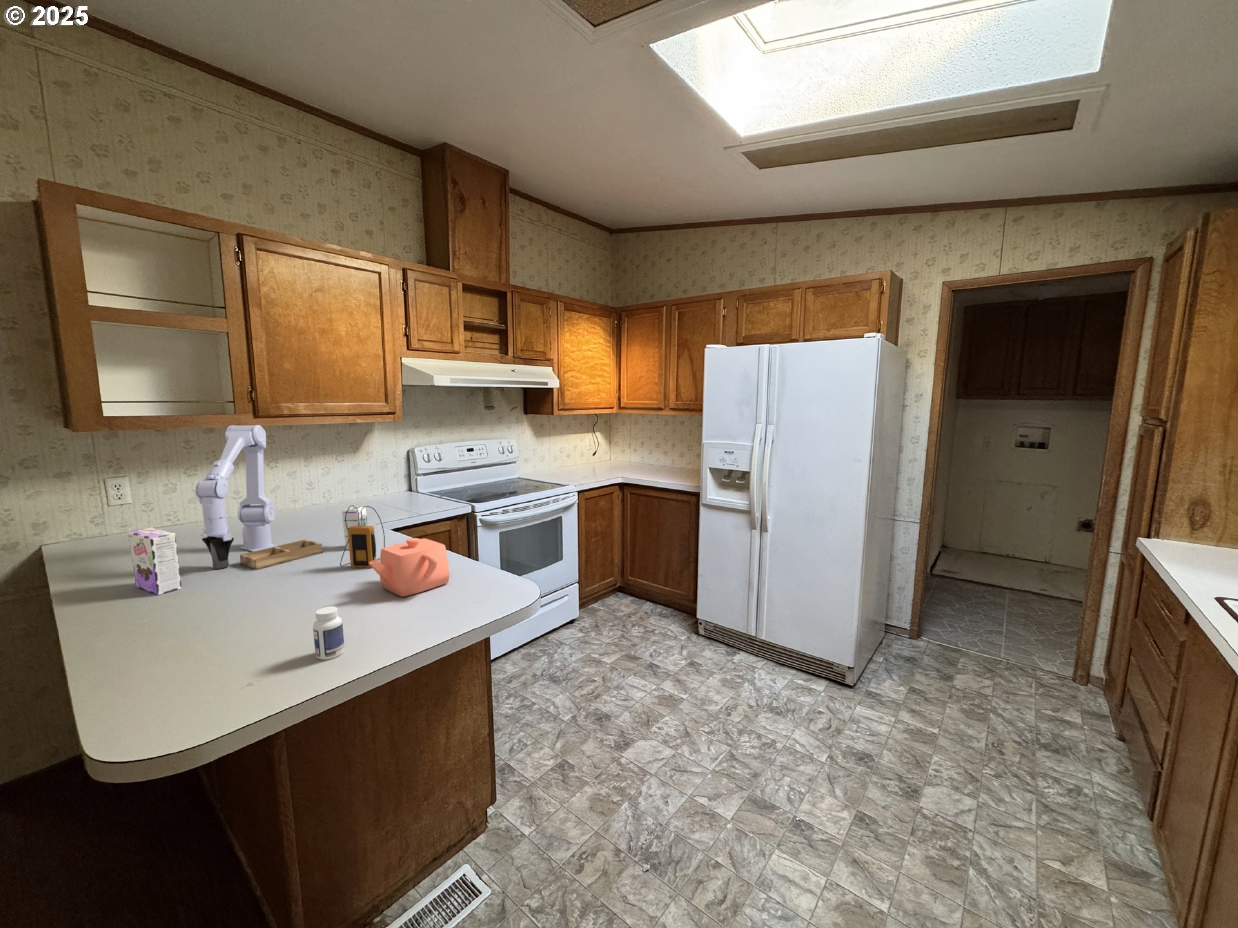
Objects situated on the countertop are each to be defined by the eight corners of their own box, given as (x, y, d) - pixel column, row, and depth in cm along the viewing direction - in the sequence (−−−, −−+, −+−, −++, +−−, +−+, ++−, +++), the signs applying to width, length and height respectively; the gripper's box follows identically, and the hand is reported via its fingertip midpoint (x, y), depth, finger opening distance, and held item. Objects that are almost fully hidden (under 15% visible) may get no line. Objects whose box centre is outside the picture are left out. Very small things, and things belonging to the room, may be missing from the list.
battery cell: (210, 567, 163) (207, 540, 162) (225, 563, 166) (222, 537, 165) (216, 569, 161) (213, 542, 160) (231, 566, 164) (228, 539, 163)
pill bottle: (349, 647, 111) (346, 604, 110) (336, 660, 106) (333, 615, 105) (324, 648, 111) (320, 605, 110) (310, 660, 106) (306, 615, 105)
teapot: (419, 571, 160) (417, 527, 158) (461, 587, 146) (458, 539, 144) (353, 590, 144) (350, 542, 142) (392, 610, 130) (389, 557, 129)
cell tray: (240, 564, 167) (239, 554, 166) (306, 548, 184) (305, 539, 184) (256, 569, 161) (255, 560, 161) (322, 552, 179) (321, 543, 178)
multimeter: (399, 558, 171) (395, 499, 169) (383, 568, 162) (378, 506, 159) (357, 557, 173) (353, 499, 170) (339, 567, 163) (333, 505, 160)
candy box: (134, 587, 147) (126, 531, 145) (160, 580, 153) (153, 526, 150) (157, 595, 141) (149, 537, 139) (183, 588, 146) (176, 532, 144)
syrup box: (361, 549, 182) (358, 509, 180) (344, 549, 182) (341, 509, 180) (369, 545, 187) (366, 506, 185) (353, 545, 187) (350, 506, 185)
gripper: (189, 517, 162) (195, 559, 164) (210, 523, 154) (215, 566, 156) (216, 512, 168) (221, 553, 170) (237, 518, 160) (241, 560, 162)
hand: (220, 559), depth 163 cm, fingers closed on battery cell, 4 cm apart
